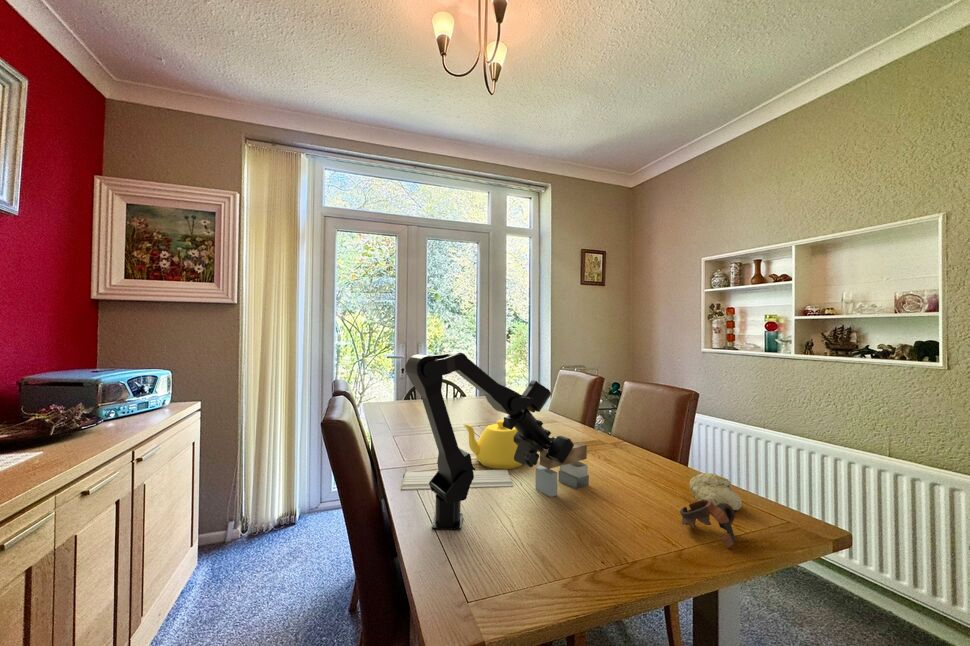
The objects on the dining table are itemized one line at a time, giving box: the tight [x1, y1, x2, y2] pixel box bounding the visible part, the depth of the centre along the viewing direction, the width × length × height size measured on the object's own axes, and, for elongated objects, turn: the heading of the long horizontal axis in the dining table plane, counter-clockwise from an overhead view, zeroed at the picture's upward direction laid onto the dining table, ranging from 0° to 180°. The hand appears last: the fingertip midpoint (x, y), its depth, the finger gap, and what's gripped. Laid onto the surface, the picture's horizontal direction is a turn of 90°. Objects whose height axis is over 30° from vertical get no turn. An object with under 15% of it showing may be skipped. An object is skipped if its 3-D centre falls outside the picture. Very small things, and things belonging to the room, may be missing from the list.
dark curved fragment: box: [679, 499, 737, 549], centre depth 81 cm, size 12×10×8 cm
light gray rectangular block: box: [535, 465, 558, 498], centre depth 101 cm, size 2×6×6 cm, turn 34°
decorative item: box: [689, 472, 742, 511], centre depth 95 cm, size 12×9×10 cm
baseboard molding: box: [401, 469, 514, 491], centre depth 107 cm, size 31×3×12 cm
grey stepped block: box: [558, 461, 590, 491], centre depth 107 cm, size 5×7×6 cm
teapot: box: [462, 419, 523, 470], centre depth 124 cm, size 25×18×14 cm
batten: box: [539, 441, 588, 470], centre depth 104 cm, size 15×4×4 cm, turn 124°
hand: (557, 459), depth 103 cm, fingers closed on batten, 4 cm apart
